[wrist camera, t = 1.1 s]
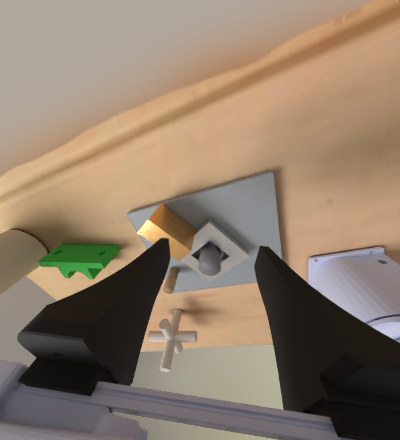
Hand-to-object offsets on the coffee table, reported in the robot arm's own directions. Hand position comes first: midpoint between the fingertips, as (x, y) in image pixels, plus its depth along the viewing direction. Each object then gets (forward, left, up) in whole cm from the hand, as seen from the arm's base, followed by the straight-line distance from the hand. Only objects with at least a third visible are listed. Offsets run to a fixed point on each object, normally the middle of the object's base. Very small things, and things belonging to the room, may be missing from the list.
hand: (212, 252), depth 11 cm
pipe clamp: (+24, +4, -11) cm, 27 cm away
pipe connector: (+16, +24, -11) cm, 31 cm away
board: (+3, +7, -10) cm, 13 cm away
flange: (+4, +4, -9) cm, 11 cm away
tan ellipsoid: (+10, +10, -9) cm, 17 cm away
